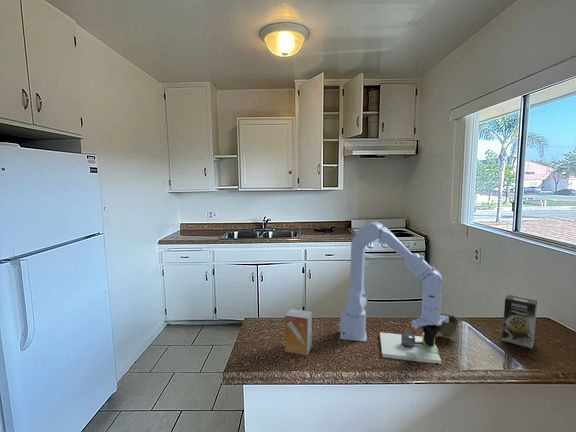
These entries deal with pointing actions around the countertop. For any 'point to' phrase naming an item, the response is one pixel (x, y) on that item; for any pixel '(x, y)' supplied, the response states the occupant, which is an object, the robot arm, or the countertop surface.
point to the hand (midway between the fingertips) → (429, 345)
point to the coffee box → (519, 321)
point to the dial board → (407, 349)
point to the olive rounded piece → (448, 327)
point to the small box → (298, 331)
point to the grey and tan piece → (412, 340)
